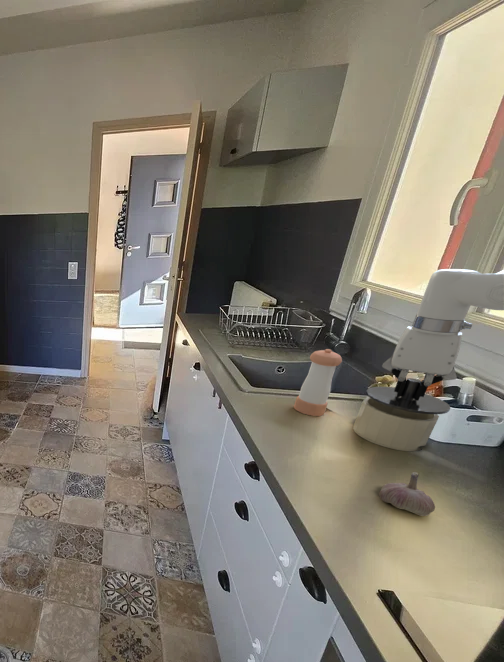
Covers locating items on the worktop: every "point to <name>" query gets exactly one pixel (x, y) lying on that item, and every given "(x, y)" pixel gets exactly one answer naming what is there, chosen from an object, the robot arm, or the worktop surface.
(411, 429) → the bowl
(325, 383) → the pepper shaker
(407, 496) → the garlic bulb
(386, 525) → the worktop surface
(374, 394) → the lid
